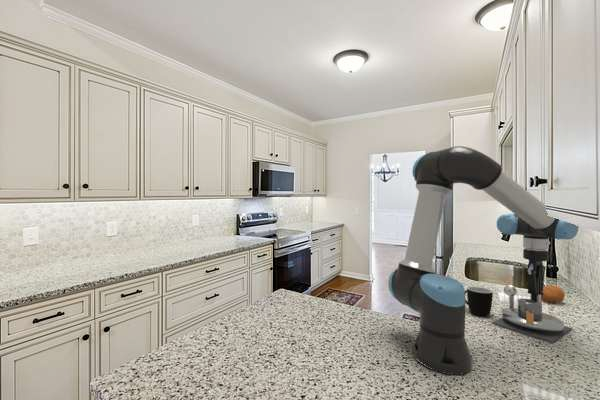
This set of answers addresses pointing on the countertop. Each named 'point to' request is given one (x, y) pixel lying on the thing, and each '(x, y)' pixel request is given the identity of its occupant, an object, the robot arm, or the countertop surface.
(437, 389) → the countertop surface
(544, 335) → the turntable base
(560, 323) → the turntable
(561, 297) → the potato
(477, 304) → the mug
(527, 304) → the cover
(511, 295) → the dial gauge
